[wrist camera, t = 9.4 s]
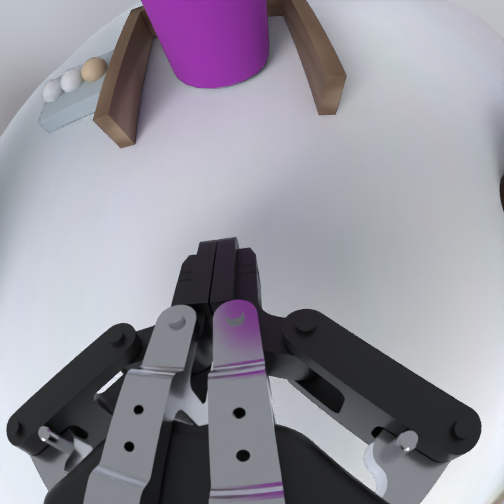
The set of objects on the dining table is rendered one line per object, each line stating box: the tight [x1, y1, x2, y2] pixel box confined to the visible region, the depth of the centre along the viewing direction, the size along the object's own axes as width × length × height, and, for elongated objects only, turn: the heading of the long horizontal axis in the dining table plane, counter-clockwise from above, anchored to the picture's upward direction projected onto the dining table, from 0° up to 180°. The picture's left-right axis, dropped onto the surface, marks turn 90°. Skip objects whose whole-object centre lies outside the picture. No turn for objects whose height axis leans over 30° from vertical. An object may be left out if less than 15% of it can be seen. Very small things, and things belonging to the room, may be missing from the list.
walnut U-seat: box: [93, 0, 346, 148], centre depth 16 cm, size 15×15×4 cm
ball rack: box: [38, 51, 114, 133], centre depth 17 cm, size 8×6×4 cm
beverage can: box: [141, 0, 269, 88], centre depth 12 cm, size 8×8×12 cm
